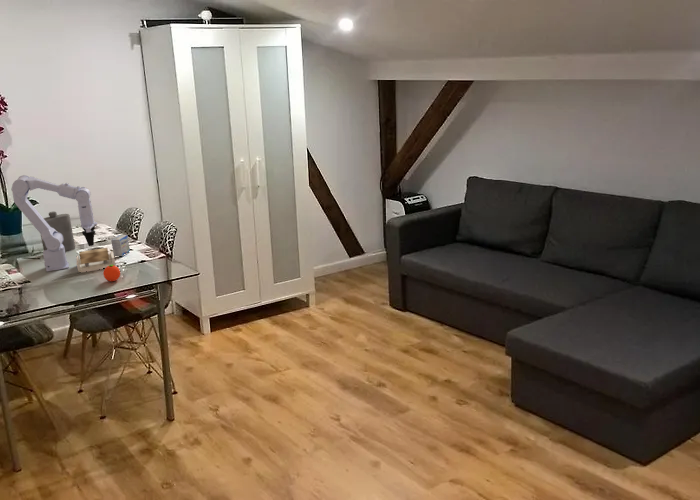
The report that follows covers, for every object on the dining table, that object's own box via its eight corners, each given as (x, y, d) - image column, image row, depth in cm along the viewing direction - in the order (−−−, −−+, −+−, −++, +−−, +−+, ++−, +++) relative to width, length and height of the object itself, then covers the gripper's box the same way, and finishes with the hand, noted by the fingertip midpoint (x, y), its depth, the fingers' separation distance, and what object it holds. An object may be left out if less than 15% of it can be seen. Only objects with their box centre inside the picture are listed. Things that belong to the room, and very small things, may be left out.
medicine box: (122, 257, 329) (119, 239, 326) (113, 257, 330) (110, 239, 327) (130, 251, 336) (127, 234, 334) (122, 251, 337) (119, 234, 335)
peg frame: (78, 272, 311) (76, 263, 310) (78, 265, 321) (76, 256, 319) (115, 267, 316) (114, 257, 315) (114, 259, 326) (112, 250, 325)
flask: (71, 246, 349) (64, 207, 342) (77, 248, 345) (70, 209, 338) (42, 254, 339) (34, 214, 332) (47, 256, 335) (39, 216, 328)
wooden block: (81, 263, 313) (79, 254, 312) (81, 261, 317) (79, 251, 316) (109, 259, 317) (107, 250, 316) (108, 257, 321) (107, 247, 319)
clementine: (107, 277, 304) (105, 262, 302) (123, 276, 304) (121, 261, 302) (102, 284, 296) (100, 268, 294) (119, 283, 297) (116, 267, 294)
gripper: (95, 217, 310) (100, 246, 314) (95, 209, 322) (99, 237, 327) (79, 219, 307) (84, 248, 312) (79, 211, 320) (84, 239, 325)
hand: (91, 243), depth 319 cm, fingers open, 7 cm apart
